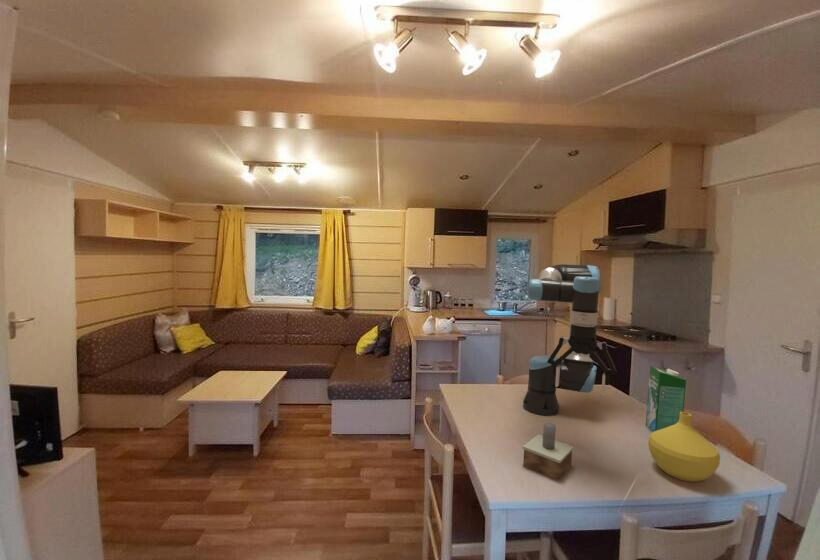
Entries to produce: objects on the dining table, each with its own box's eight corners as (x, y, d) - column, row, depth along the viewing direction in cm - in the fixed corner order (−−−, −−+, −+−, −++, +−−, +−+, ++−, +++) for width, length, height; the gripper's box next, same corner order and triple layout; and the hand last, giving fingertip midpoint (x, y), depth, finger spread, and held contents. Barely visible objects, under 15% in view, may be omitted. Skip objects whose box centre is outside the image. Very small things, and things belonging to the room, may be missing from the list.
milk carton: (681, 439, 144) (686, 374, 142) (654, 435, 145) (660, 371, 144) (670, 428, 152) (675, 367, 151) (645, 425, 154) (650, 365, 153)
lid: (522, 451, 120) (524, 424, 119) (537, 439, 128) (539, 414, 128) (559, 466, 112) (561, 437, 111) (573, 452, 121) (575, 425, 120)
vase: (641, 452, 132) (646, 398, 131) (706, 465, 125) (711, 408, 124) (652, 480, 115) (657, 419, 114) (727, 497, 108) (733, 432, 107)
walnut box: (523, 467, 120) (524, 448, 120) (537, 454, 128) (538, 437, 128) (558, 482, 113) (559, 462, 112) (570, 467, 121) (572, 449, 120)
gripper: (540, 321, 125) (537, 385, 126) (628, 331, 112) (623, 402, 113) (545, 319, 131) (541, 379, 132) (628, 328, 119) (623, 394, 120)
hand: (579, 390), depth 123 cm, fingers open, 13 cm apart
